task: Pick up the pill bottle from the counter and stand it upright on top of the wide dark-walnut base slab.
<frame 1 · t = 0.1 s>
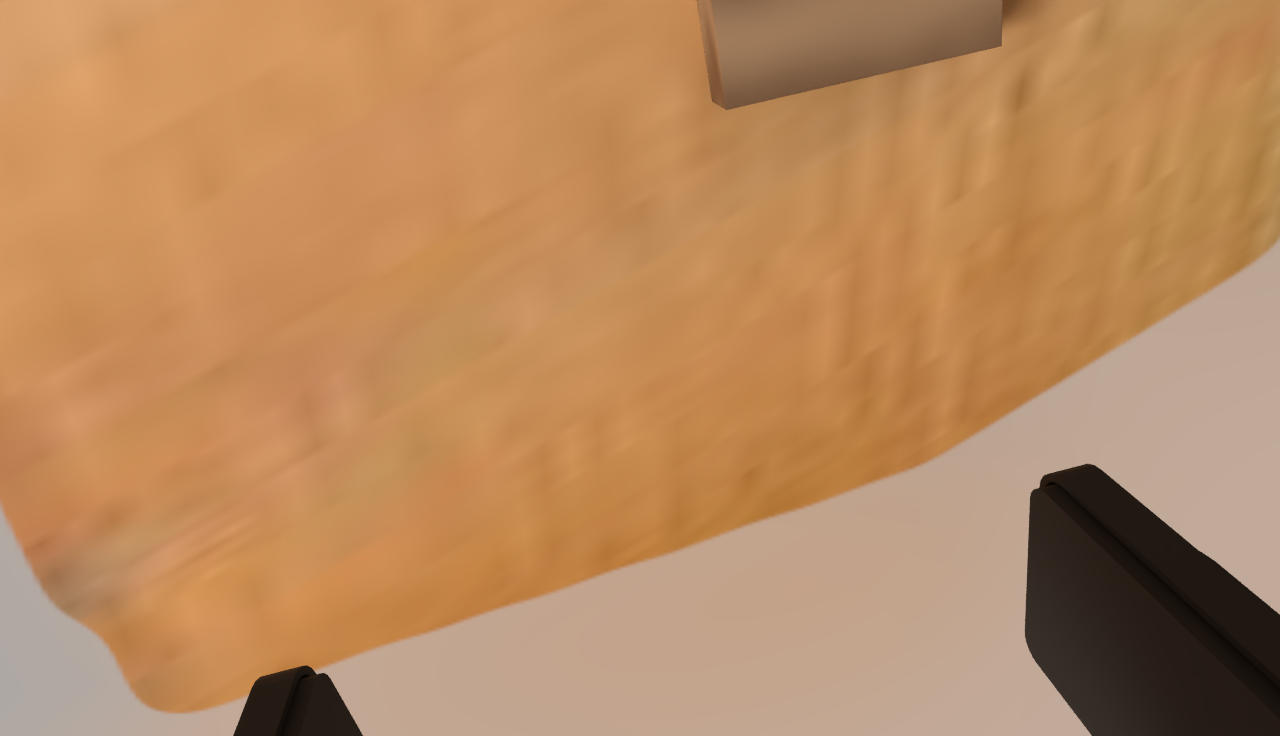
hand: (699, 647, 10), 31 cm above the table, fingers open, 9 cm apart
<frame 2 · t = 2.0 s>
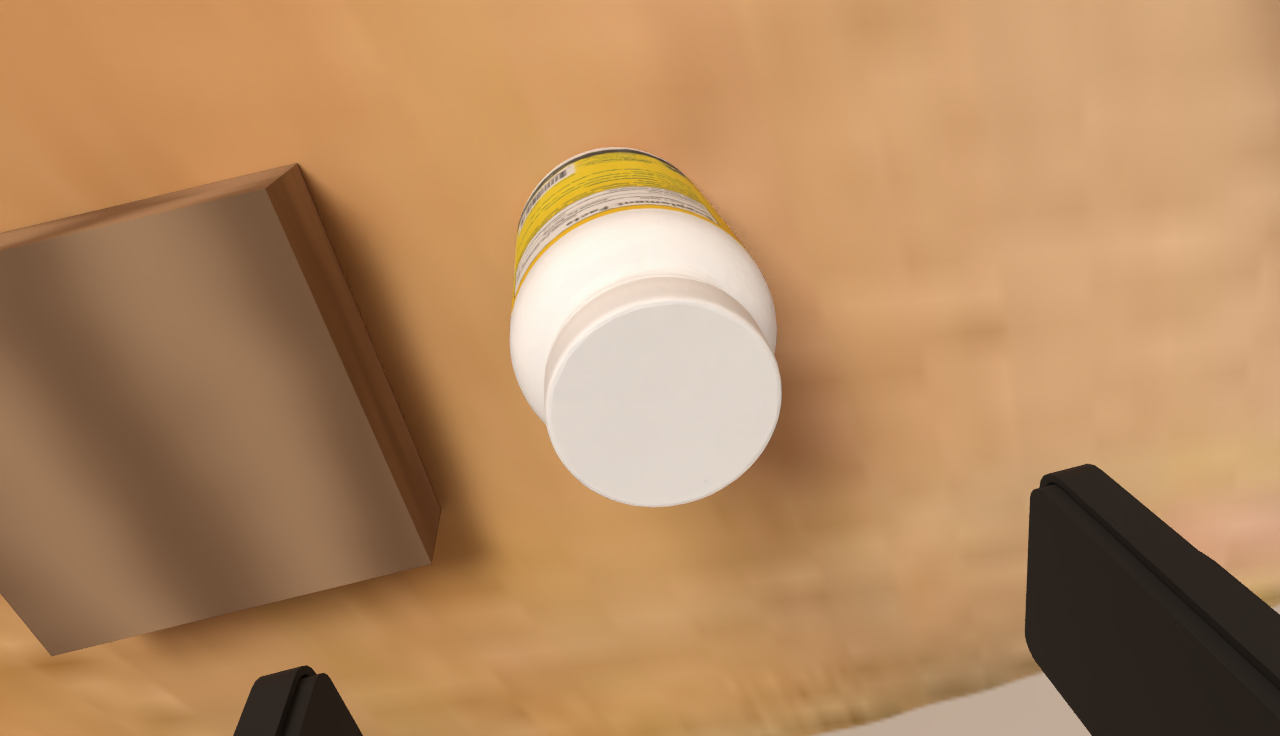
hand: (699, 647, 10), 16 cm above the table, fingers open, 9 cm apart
pill bottle: (614, 238, 25), on the table
walnut base: (185, 402, 25), on the table
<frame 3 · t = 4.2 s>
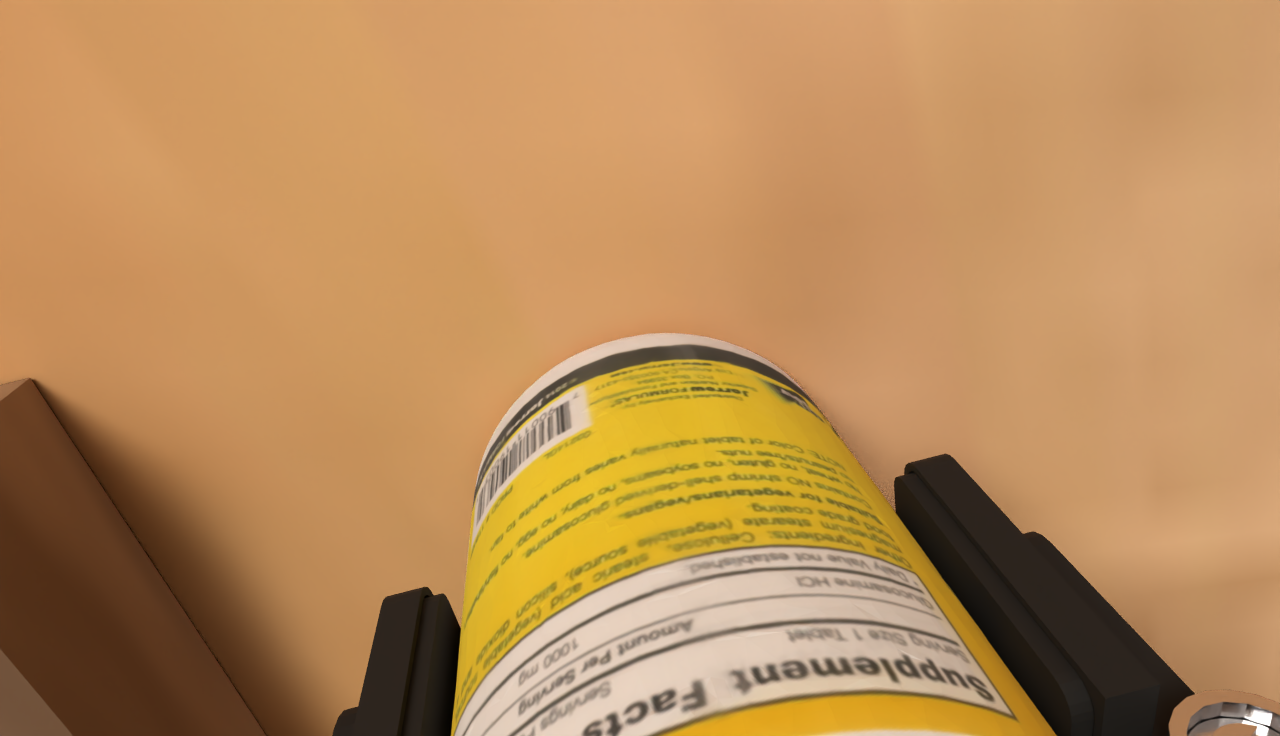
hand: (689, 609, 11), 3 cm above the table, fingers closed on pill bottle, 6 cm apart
pill bottle: (653, 474, 14), on the table, touching gripper
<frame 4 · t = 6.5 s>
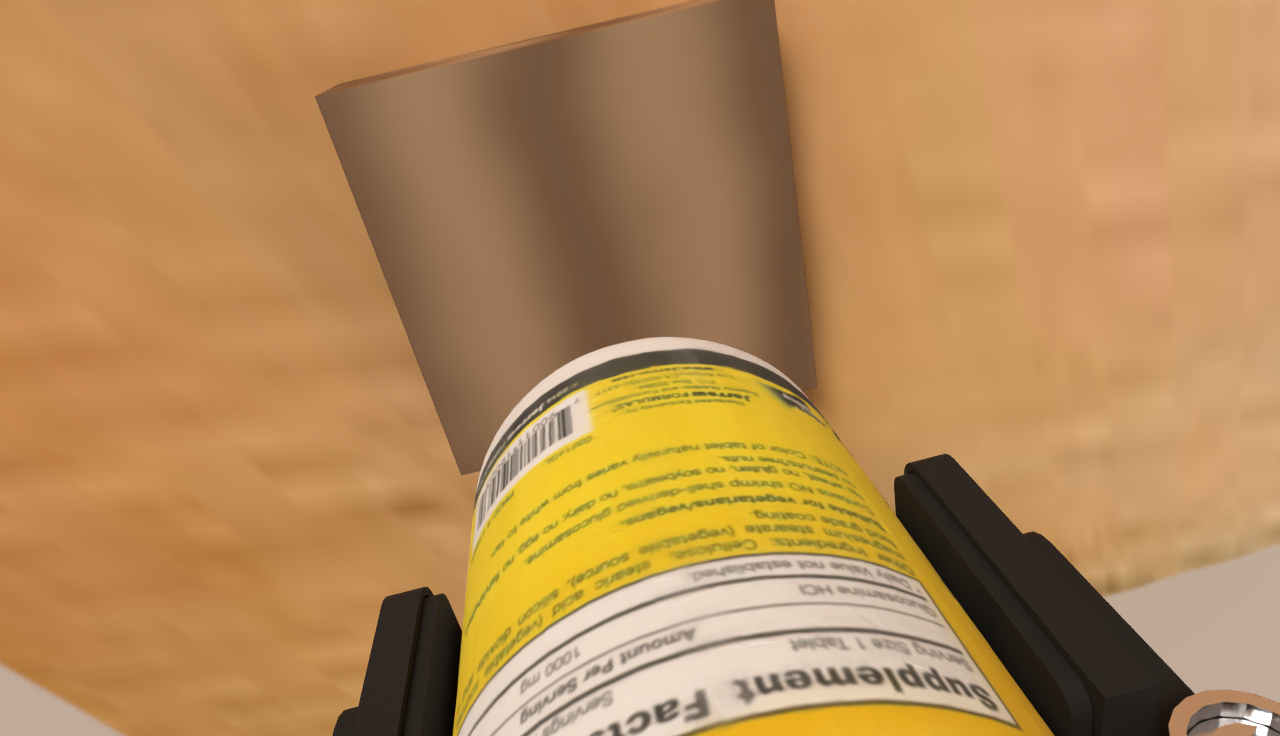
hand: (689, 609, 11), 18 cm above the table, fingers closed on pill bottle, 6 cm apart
pill bottle: (654, 478, 14), point 15 cm above the table, touching gripper
walnut base: (591, 233, 27), on the table
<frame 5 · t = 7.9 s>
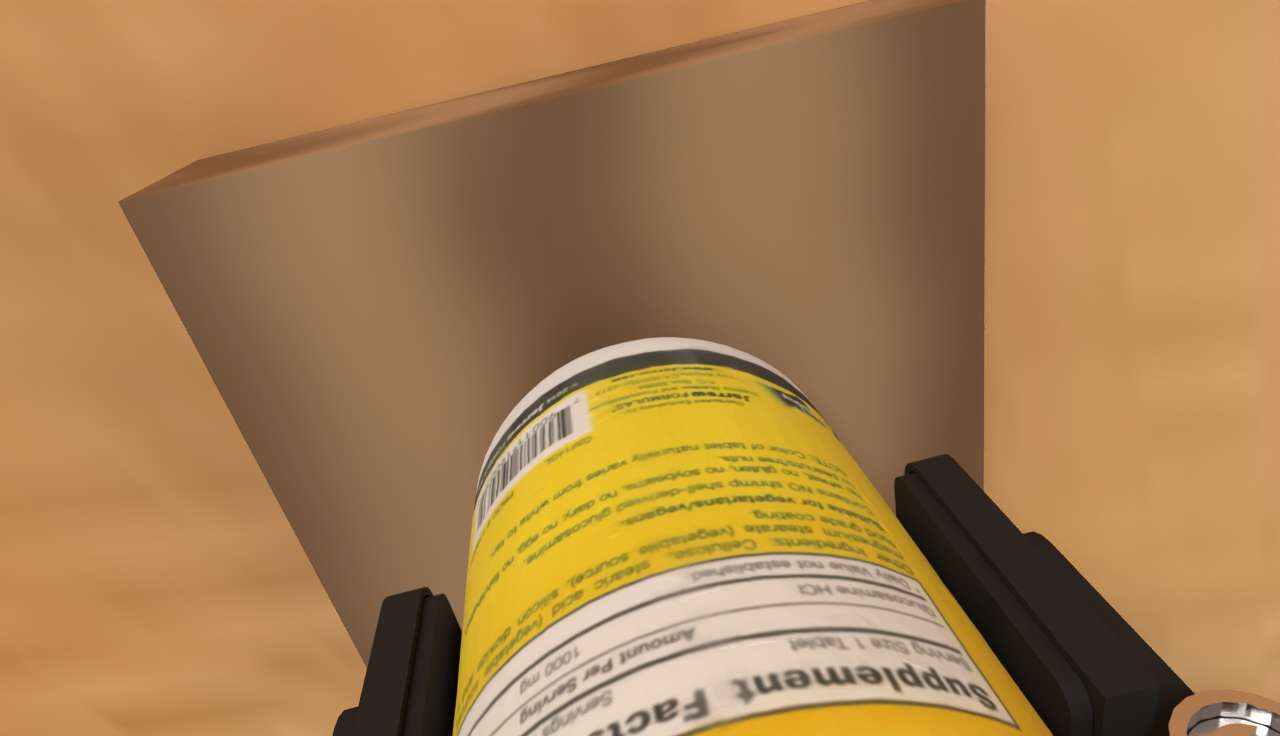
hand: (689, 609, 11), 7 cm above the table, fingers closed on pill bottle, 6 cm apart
pill bottle: (654, 478, 14), point 4 cm above the table, touching gripper
walnut base: (627, 384, 17), on the table
when the fingers open (7 cm above the table, at t = 9.2 s): pill bottle stays where it is, resting on walnut base.
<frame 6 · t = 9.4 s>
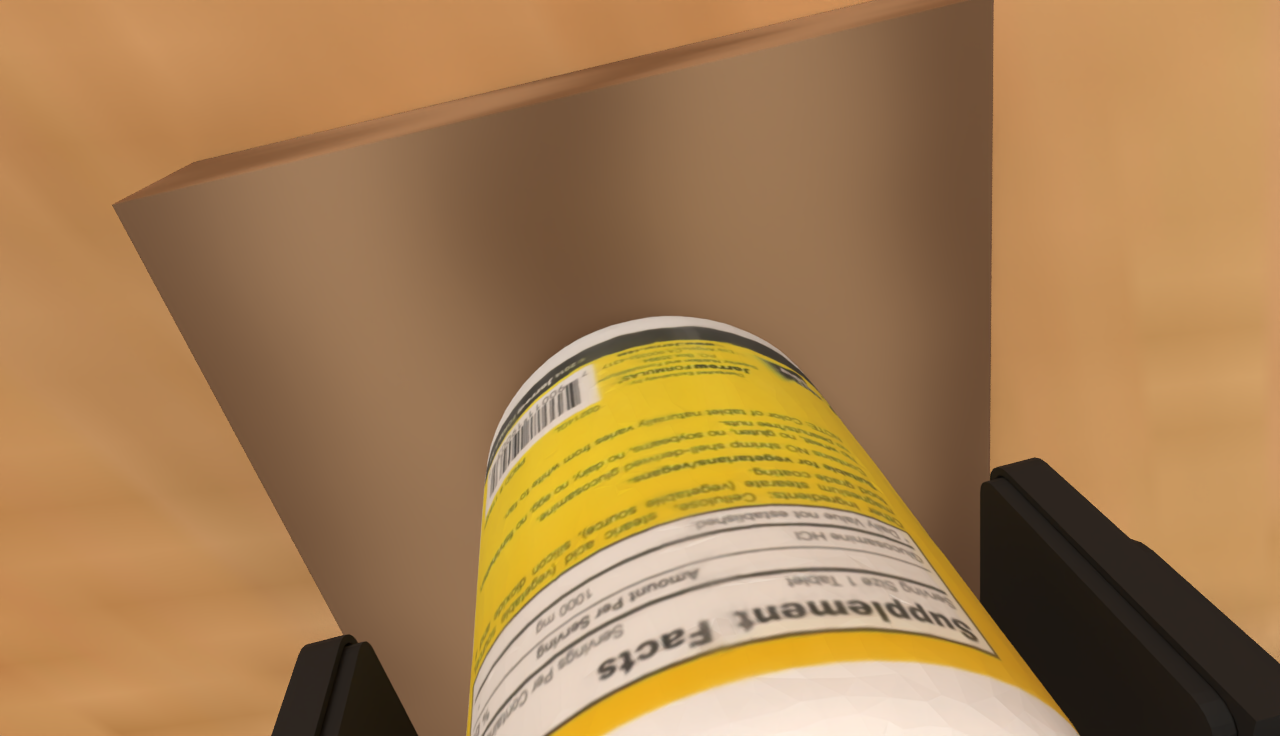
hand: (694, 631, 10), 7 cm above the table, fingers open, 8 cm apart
pill bottle: (657, 454, 14), point 3 cm above the table, touching walnut base
walnut base: (629, 388, 17), on the table
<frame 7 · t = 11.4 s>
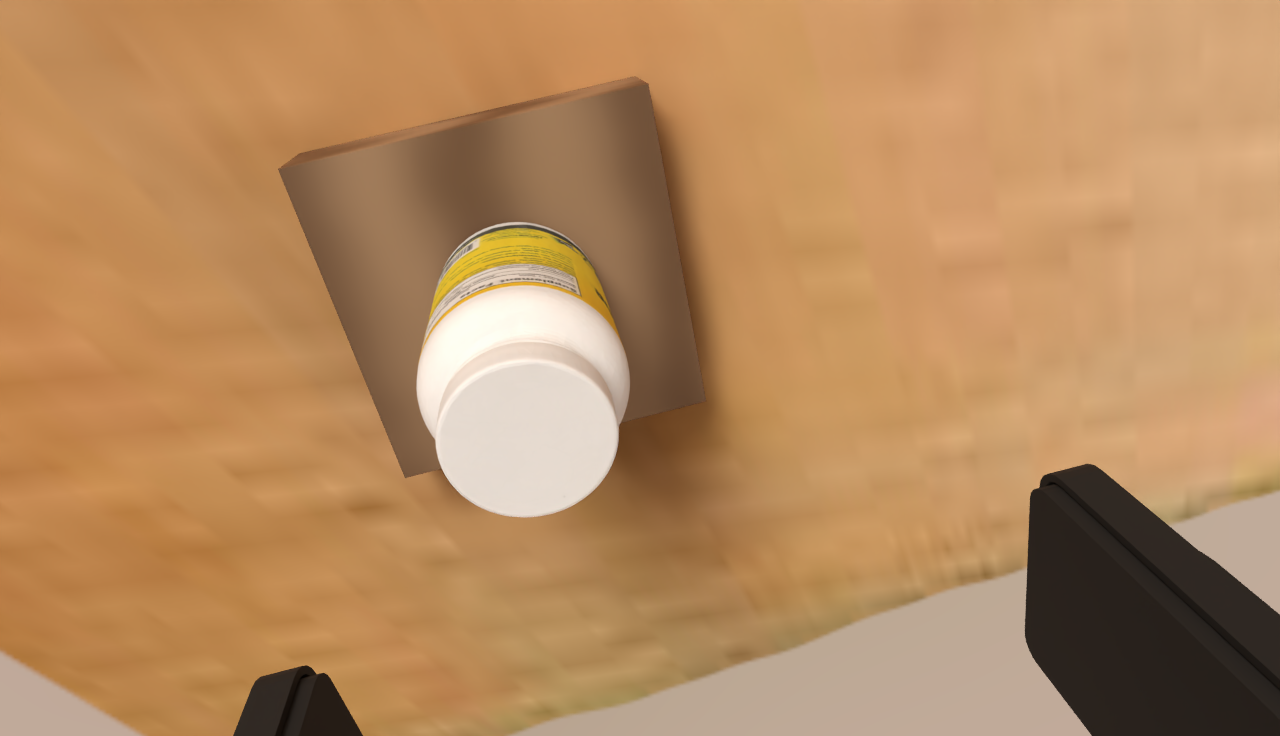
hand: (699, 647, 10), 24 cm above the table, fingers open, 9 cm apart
pill bottle: (520, 294, 29), point 3 cm above the table, touching walnut base
walnut base: (515, 273, 32), on the table
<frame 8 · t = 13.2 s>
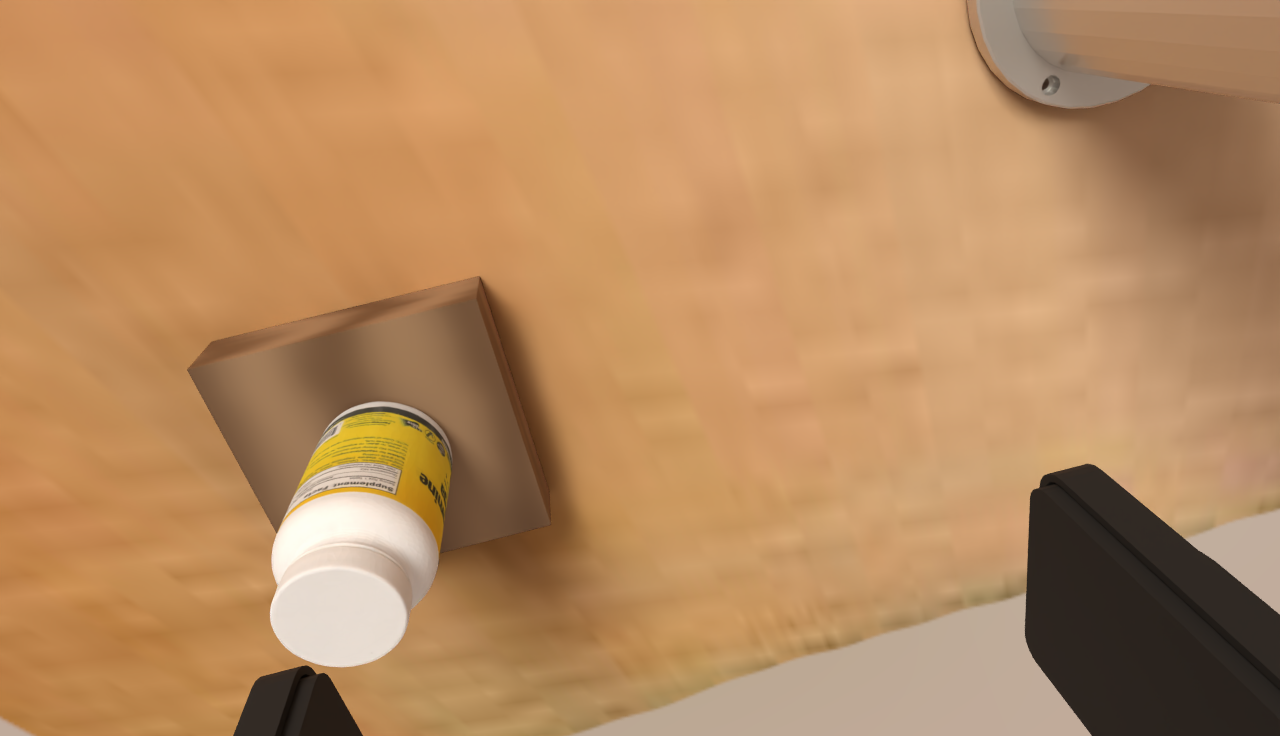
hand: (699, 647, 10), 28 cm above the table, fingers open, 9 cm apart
pill bottle: (389, 450, 37), point 3 cm above the table, touching walnut base
walnut base: (394, 422, 39), on the table
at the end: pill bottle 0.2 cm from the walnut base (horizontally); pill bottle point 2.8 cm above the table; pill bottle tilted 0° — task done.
